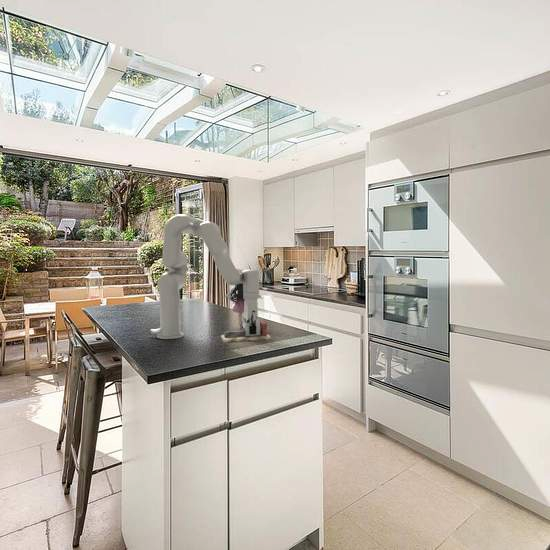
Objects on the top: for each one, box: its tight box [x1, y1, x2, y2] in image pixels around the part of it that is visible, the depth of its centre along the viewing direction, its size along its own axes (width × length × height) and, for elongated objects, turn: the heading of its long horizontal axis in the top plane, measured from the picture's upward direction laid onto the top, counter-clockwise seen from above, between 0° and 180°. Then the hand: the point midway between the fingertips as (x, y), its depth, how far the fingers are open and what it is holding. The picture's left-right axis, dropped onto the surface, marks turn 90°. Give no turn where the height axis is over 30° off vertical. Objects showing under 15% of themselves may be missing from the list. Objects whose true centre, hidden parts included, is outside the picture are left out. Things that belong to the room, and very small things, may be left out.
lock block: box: [242, 319, 260, 336], centre depth 176 cm, size 7×6×6 cm
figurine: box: [223, 284, 264, 329], centre depth 199 cm, size 22×10×30 cm, turn 84°
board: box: [220, 320, 272, 343], centre depth 175 cm, size 22×10×7 cm, turn 107°
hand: (251, 332), depth 176 cm, fingers closed on lock block, 6 cm apart
